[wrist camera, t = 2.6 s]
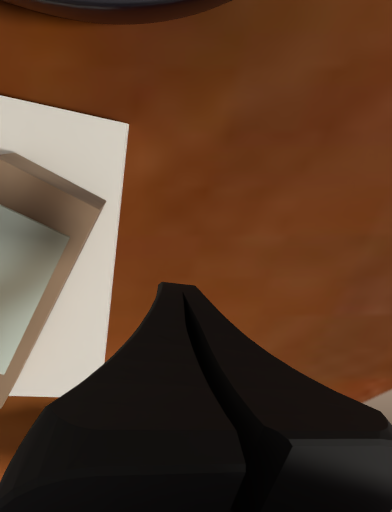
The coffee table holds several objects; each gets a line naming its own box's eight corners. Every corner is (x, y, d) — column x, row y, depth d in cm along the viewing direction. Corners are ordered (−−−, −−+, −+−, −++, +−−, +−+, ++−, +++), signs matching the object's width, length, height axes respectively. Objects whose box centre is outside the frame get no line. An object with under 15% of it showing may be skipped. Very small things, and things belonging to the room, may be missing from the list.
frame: (106, 200, 16) (98, 212, 14) (15, 384, 20) (-4, 417, 18) (15, 152, 14) (-13, 155, 12) (-64, 362, 18) (-96, 395, 16)
